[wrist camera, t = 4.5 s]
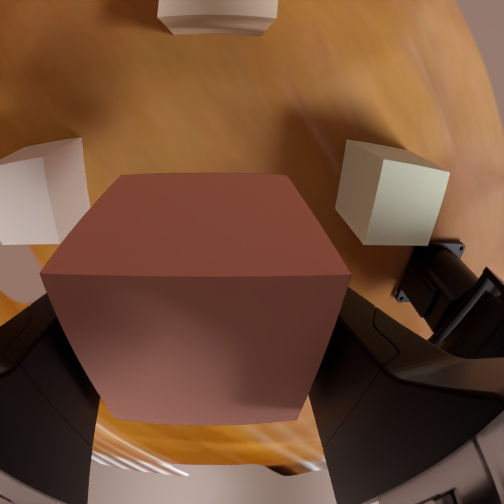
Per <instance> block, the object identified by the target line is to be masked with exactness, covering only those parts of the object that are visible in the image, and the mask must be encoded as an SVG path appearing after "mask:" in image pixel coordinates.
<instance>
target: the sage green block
mask: <svg viewBox="0 0 504 504" xmlns="http://www.w3.org/2000/svg"><path fill="white" fill-rule="evenodd" d="M449 175H450V172H448V171H447V170H445V169H443V168H441V167H439V166H438V165H436V164H434V163H432V162H430V161H428V160H426V159H424V158H422V157H420V156H418V155H416V154H414V153H412V152H410V151H408V150H405V149H400V148H395V147H390V146H384V145H379V144H373V143H367V142H361V141H355V140H348V139H346V146H345V153H344V159H343V165H342V171H341V177H340V183H339V189H338V194H337V200H336V205H335V210H336V211H337V212H338V213H339V215H340V216H341V217H342V218H343V220H344V221H345V222H346V223H347V225H348V226H349V227H350V228H351V230H352V231H353V232H354V233H355V235H356V236H357V237H358V239H359V240H360V241H361V242H362V244H363V245H411V246H428V244H429V241H430V238H431V235H432V232H433V229H434V226H435V223H436V220H437V217H438V214H439V211H440V207H441V204H442V201H443V197H444V194H445V190H446V186H447V183H448V179H449Z"/></svg>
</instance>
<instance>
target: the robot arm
mask: <svg viewBox="0 0 504 504" xmlns="http://www.w3.org/2000/svg"><path fill="white" fill-rule="evenodd" d="M464 249H465V245H464V244H463V243H462V242H447V241H429V244H428V246H415V248H414V251H413V253H412V256H411V259H410V262H409V264H408V267H407V269H406V272H405V275H404V277H403V280H402V282H401V284H400V287H399V289H398V292H397V294H396V297H395V299H396V300H397V302H409V301H410V302H411V304H412V305H413V307H414V308H415V310H416V311H417V313H418V314H419V316H420V317H421V318H424V319H425V321H426V322H427V324H428V325H429V327H430V328H431V330H432V331H433V333H434V334H433V335H432V336H431V337H430V338H429V339H428V340H426V339H424V338H422V337H421V336H419V335H417V334H416V333H414V332H413V331H411V330H410V329H408V328H406V327H405V326H403V325H402V324H400V323H399V322H397V321H396V320H394V319H393V318H391V317H390V316H389V315H387V314H386V313H384V312H383V311H382V310H380V309H379V308H377V307H376V308H375V305H373V304H372V303H371V302H369V301H368V300H366V299H365V298H364V297H362V296H361V295H359V294H358V293H357V292H355V291H354V290H352V289H351V288H350V287H347V291H346V294H345V297H344V300H343V303H342V306H341V309H340V312H339V315H338V318H337V321H336V324H335V326H334V329H333V332H332V335H331V338H330V340H329V343H328V346H327V348H326V351H325V354H324V356H323V359H322V361H321V364H320V366H319V369H318V371H317V374H316V376H315V379H314V381H313V384H312V386H311V389H310V391H309V393H308V395H309V399H310V402H311V406H312V410H313V413H314V417H315V421H316V425H317V428H318V432H319V436H320V440H321V443H322V447H323V448H324V449H323V452H324V455H325V459H326V463H327V467H328V471H329V475H330V479H331V483H332V486H333V490H334V494H335V498H336V502H337V504H370V503H373V502H376V501H379V504H504V282H503V281H502V280H501V279H500V278H499V277H498V276H496V275H495V274H494V273H493V272H492V271H491V270H490V269H489V268H487V267H485V269H484V270H483V273H482V275H481V276H480V278H478V277H477V276H476V275H475V274H474V273H473V272H472V271H471V270H470V269H469V268H468V267H467V266H466V265H465V264H464V263H463V262H462V261H461V260H460V258H461V256H462V253H463V251H464ZM99 402H100V395H99V394H98V392H97V390H96V389H95V387H94V386H93V384H92V382H91V381H90V379H89V377H88V376H87V374H86V372H85V370H84V369H83V367H82V365H81V363H80V361H79V360H78V358H77V356H76V354H75V352H74V350H73V348H72V346H71V345H70V343H69V341H68V339H67V337H66V335H65V332H64V330H63V328H62V326H61V324H60V322H59V320H58V318H57V315H56V313H55V311H54V308H53V306H52V304H51V301H50V299H49V297H48V294H47V293H46V294H44V295H43V296H42V297H40V298H39V299H37V300H36V301H35V302H33V303H32V304H31V305H30V306H28V307H26V308H25V309H24V310H23V311H21V312H20V313H19V314H17V315H16V316H14V317H13V318H12V319H10V320H9V321H8V322H6V323H5V324H3V325H2V326H0V504H57V503H60V504H87V502H88V486H89V475H90V465H91V456H92V446H93V439H94V432H95V426H96V419H97V413H98V408H99Z"/></svg>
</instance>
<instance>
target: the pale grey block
mask: <svg viewBox="0 0 504 504" xmlns="http://www.w3.org/2000/svg"><path fill="white" fill-rule="evenodd" d="M89 209H90V202H89V196H88V189H87V182H86V175H85V166H84V157H83V146H82V137H78V138H71V139H65V140H58V141H53V142H47V143H42V144H36V145H32V146H27V147H24V148H22V149H20V150H18V151H16V152H14V153H12V154H10V155H8V156H6V157H4V158H2V159H0V241H1V244H2V245H8V244H9V245H13V244H60V243H61V242H62V241H63V240H64V238H65V237H66V236H67V235H68V233H69V232H70V231H71V230H72V229H73V227H74V226H75V225H76V224H77V223H78V221H79V220H80V219H81V218H82V217H83V215H84V214H85V213H86V212H87V211H88V210H89Z"/></svg>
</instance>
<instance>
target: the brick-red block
mask: <svg viewBox="0 0 504 504" xmlns="http://www.w3.org/2000/svg"><path fill="white" fill-rule="evenodd" d="M40 276H41V279H42V281H43V284H44V287H45V289H46V292H47V294H48V297H49V299H50V301H51V304H52V306H53V308H54V311H55V313H56V315H57V318H58V320H59V322H60V324H61V326H62V328H63V330H64V332H65V335H66V337H67V339H68V341H69V343H70V345H71V346H72V348H73V350H74V352H75V354H76V356H77V358H78V360H79V361H80V363H81V365H82V367H83V369H84V370H85V372H86V374H87V376H88V377H89V379H90V381H91V382H92V384H93V386H94V387H95V389H96V390H97V392H98V394H99V395H100V397H101V398H102V400H103V401H104V403H105V404H106V406H107V407H108V409H109V410H110V412H111V413H112V415H113V416H114V418H115V419H119V420H127V421H135V422H146V423H158V424H174V425H243V424H260V423H272V422H283V421H292V420H297V418H298V416H299V414H300V412H301V409H302V407H303V405H304V402H305V400H306V398H307V396H308V393H309V391H310V389H311V386H312V384H313V381H314V379H315V376H316V374H317V371H318V369H319V366H320V364H321V361H322V359H323V356H324V354H325V351H326V348H327V346H328V343H329V340H330V338H331V335H332V332H333V329H334V326H335V324H336V321H337V318H338V315H339V312H340V309H341V306H342V303H343V300H344V297H345V294H346V291H347V287H348V284H349V281H350V278H351V273H350V271H349V270H348V268H347V266H346V265H345V263H344V261H343V260H342V258H341V256H340V255H339V253H338V252H337V250H336V248H335V247H334V245H333V244H332V242H331V240H330V239H329V237H328V236H327V234H326V233H325V231H324V230H323V228H322V226H321V225H320V223H319V222H318V220H317V219H316V217H315V216H314V214H313V213H312V211H311V210H310V208H309V207H308V205H307V204H306V202H305V201H304V199H303V198H302V196H301V195H300V193H299V192H298V191H297V189H296V188H295V186H294V185H293V183H292V182H291V180H290V179H289V178H288V176H287V175H277V174H252V173H156V174H132V175H121V176H120V177H119V178H118V179H117V180H116V181H115V182H114V183H113V184H112V185H111V186H110V187H109V188H108V189H107V190H106V192H105V193H104V194H103V195H102V196H101V197H100V198H99V199H98V200H97V201H96V203H95V204H94V205H93V206H92V207H91V208H90V209H89V211H88V212H87V213H86V214H85V215H84V216H83V218H82V219H81V220H80V221H79V222H78V223H77V225H76V226H75V227H74V228H73V230H72V231H71V232H70V233H69V235H68V236H67V237H66V238H65V240H64V241H63V242H62V243H61V245H60V246H59V247H58V249H57V250H56V251H55V253H54V254H53V255H52V257H51V258H50V259H49V261H48V262H47V263H46V265H45V266H44V268H43V269H42V270H41V272H40Z"/></svg>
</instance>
